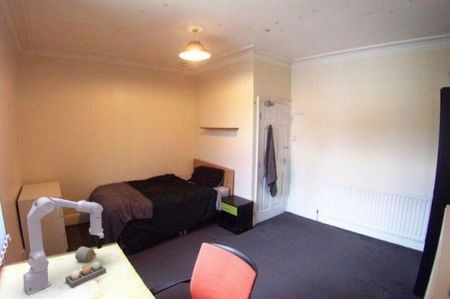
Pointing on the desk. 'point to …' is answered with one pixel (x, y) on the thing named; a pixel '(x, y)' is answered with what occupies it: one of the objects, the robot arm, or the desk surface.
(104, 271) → the panel
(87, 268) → the button terracotta
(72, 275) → the button cream
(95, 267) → the button sage
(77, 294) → the desk surface
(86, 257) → the ceramic mug
